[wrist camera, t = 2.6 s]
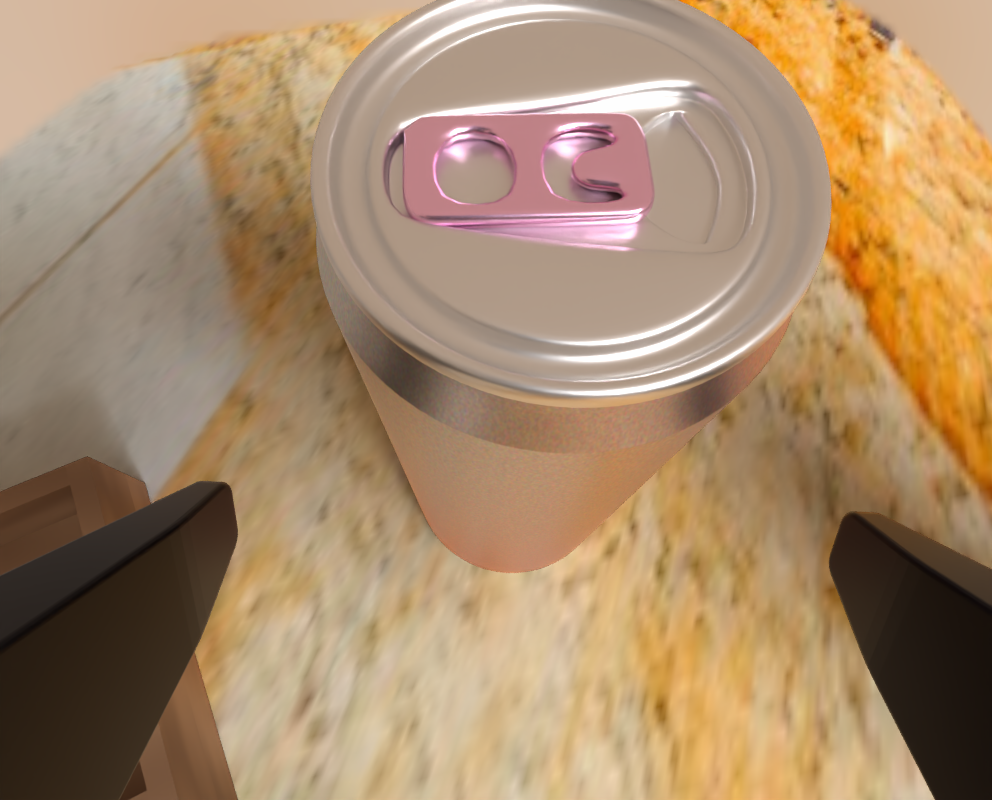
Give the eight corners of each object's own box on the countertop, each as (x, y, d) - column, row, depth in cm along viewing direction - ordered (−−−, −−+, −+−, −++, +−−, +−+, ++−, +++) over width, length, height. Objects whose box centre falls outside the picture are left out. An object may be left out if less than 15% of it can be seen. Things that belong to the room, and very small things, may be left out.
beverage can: (418, 399, 22) (307, -37, 8) (591, 393, 22) (788, -41, 8) (419, 579, 20) (265, 429, 6) (609, 570, 20) (924, 406, 6)
